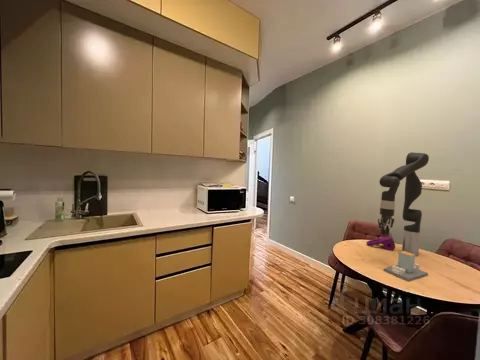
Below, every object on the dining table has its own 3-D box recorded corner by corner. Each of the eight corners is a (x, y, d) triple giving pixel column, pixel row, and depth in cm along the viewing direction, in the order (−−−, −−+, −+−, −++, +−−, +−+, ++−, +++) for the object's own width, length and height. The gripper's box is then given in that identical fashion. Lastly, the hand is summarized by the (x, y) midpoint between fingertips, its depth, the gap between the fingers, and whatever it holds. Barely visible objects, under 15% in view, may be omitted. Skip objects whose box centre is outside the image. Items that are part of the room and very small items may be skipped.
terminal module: (402, 267, 130) (403, 250, 130) (413, 272, 125) (415, 254, 124) (397, 268, 128) (398, 251, 128) (408, 273, 123) (410, 255, 122)
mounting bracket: (371, 254, 170) (397, 249, 162) (366, 244, 172) (392, 238, 164) (370, 251, 179) (395, 245, 171) (366, 241, 180) (390, 235, 172)
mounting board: (402, 266, 137) (403, 258, 137) (427, 275, 125) (428, 267, 125) (383, 270, 128) (384, 263, 128) (408, 281, 116) (409, 273, 116)
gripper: (386, 209, 130) (384, 237, 131) (400, 208, 136) (397, 235, 137) (374, 207, 137) (372, 233, 138) (387, 206, 143) (385, 232, 144)
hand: (385, 234), depth 137 cm, fingers open, 3 cm apart
